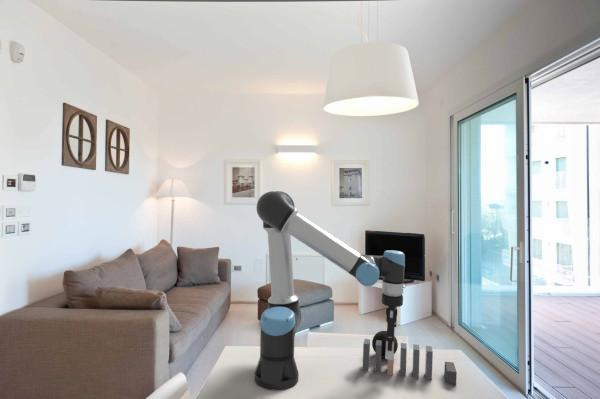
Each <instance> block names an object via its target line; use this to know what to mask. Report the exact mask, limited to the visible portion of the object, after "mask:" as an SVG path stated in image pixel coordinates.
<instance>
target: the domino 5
mask: <svg viewBox="0 0 600 399" xmlns="http://www.w3.org/2000/svg"><path fill="white" fill-rule="evenodd" d="M412 346H413V347H412V369H411V372H412V378H413V379H420V345H419V344H415V343H414V344H412Z"/></svg>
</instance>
